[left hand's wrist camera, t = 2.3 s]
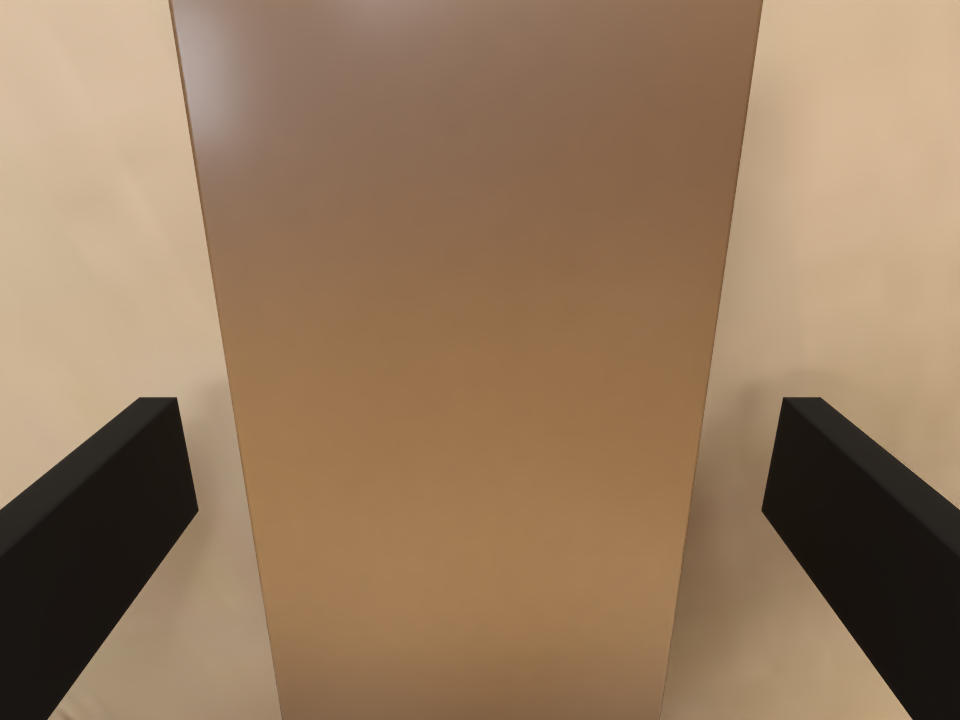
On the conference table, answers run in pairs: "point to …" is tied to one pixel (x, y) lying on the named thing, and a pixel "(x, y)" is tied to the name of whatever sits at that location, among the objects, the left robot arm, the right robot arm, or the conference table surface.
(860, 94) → the conference table surface
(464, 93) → the post
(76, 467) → the left robot arm
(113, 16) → the conference table surface
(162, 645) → the conference table surface
